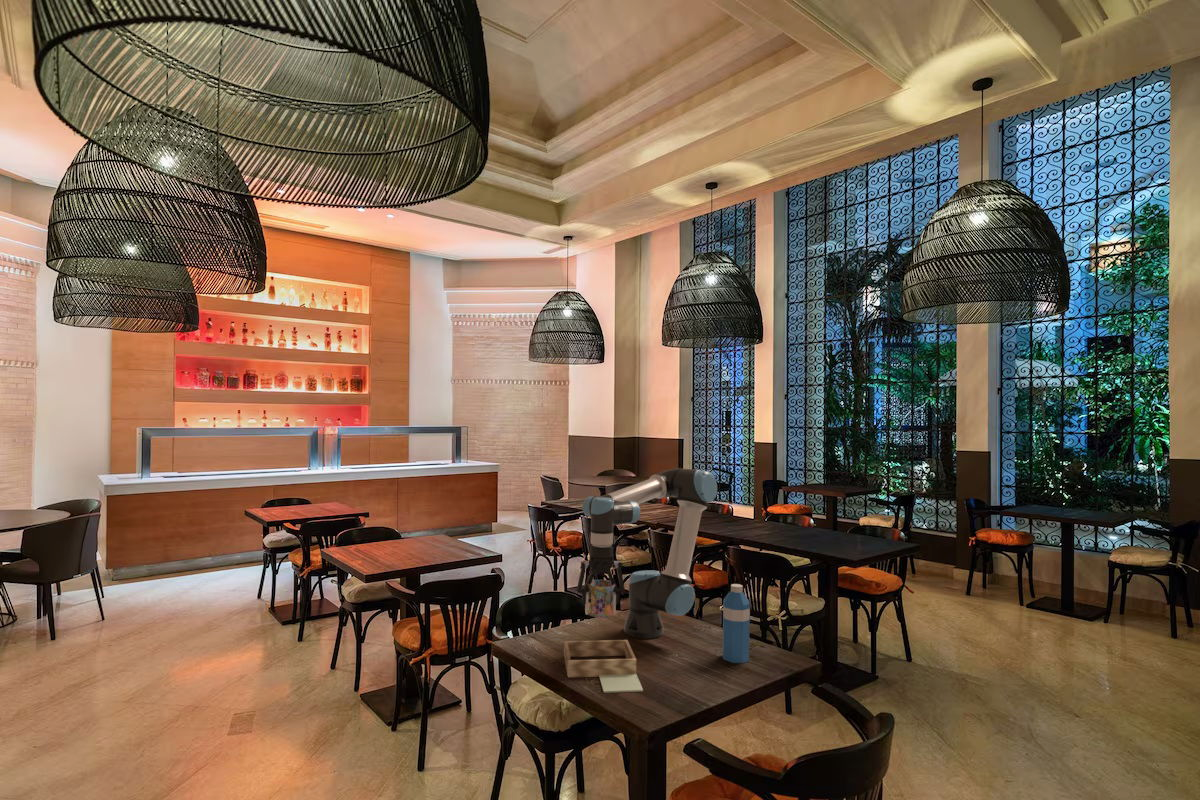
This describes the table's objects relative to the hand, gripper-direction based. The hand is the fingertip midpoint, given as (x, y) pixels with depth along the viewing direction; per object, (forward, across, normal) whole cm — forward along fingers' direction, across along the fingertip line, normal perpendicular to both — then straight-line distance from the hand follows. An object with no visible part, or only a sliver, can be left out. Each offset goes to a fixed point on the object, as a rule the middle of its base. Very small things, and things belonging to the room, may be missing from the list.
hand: (600, 613), depth 214 cm
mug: (+1, 0, 0) cm, 1 cm away
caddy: (+17, 0, 0) cm, 17 cm away
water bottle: (+18, -48, -4) cm, 51 cm away
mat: (+17, -5, +14) cm, 23 cm away
